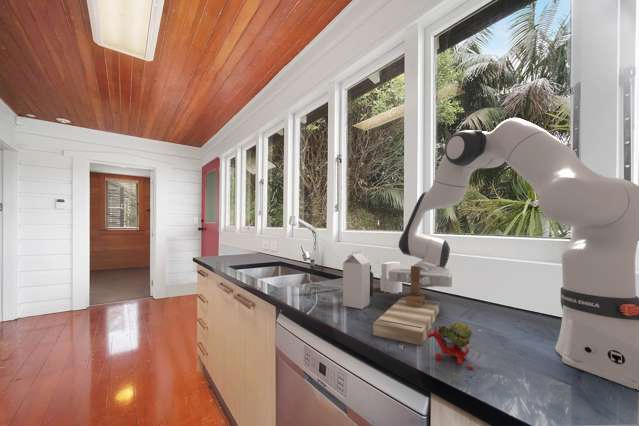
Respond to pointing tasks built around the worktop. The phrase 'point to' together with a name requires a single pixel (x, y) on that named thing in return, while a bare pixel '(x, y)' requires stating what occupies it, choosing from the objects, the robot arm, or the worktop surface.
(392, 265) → the cylinder with rectangular tab
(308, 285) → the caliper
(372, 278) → the supplement bottle
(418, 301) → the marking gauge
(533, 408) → the worktop surface
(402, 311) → the slatted pale wooden block
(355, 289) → the milk carton
